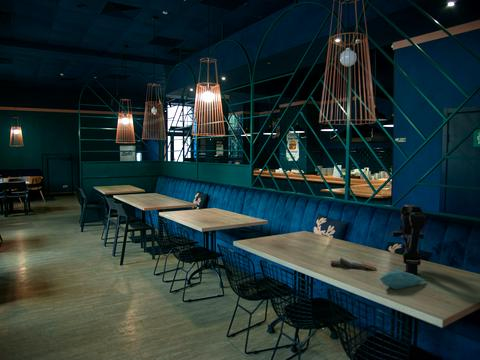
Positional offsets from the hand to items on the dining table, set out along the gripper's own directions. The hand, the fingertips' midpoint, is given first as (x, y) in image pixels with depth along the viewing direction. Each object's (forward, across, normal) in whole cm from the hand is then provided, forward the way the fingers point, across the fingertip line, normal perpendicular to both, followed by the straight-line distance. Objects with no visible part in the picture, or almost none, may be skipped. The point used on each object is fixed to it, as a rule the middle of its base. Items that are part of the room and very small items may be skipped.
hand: (407, 247), depth 235 cm
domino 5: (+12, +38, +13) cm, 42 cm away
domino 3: (+11, +35, +14) cm, 39 cm away
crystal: (+12, +9, +40) cm, 43 cm away
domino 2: (+11, +26, +13) cm, 32 cm away
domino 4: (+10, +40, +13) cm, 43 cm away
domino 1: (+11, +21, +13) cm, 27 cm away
